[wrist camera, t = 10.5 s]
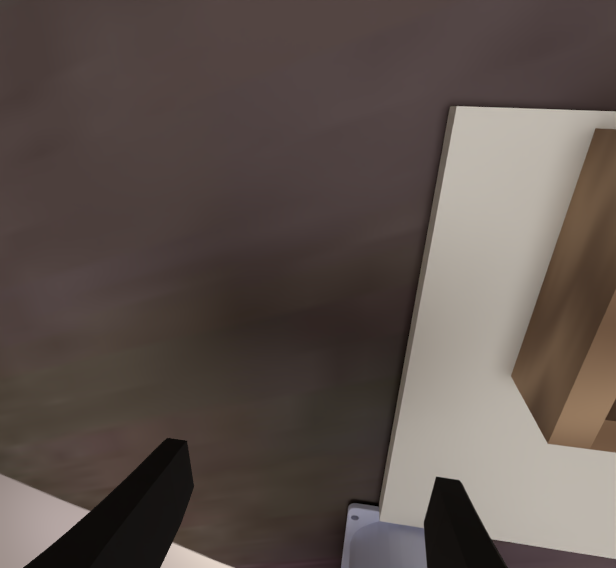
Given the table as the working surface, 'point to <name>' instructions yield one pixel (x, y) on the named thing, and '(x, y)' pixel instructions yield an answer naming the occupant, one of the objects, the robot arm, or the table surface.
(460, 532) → the robot arm
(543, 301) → the square collar
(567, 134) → the post board
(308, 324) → the table surface
